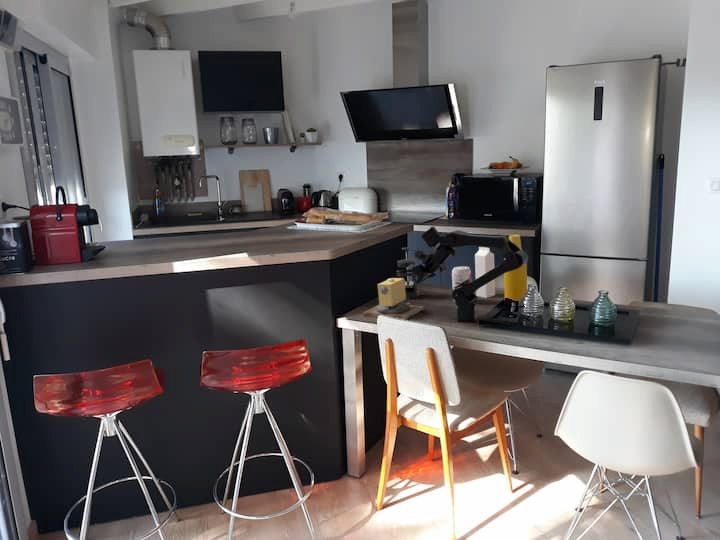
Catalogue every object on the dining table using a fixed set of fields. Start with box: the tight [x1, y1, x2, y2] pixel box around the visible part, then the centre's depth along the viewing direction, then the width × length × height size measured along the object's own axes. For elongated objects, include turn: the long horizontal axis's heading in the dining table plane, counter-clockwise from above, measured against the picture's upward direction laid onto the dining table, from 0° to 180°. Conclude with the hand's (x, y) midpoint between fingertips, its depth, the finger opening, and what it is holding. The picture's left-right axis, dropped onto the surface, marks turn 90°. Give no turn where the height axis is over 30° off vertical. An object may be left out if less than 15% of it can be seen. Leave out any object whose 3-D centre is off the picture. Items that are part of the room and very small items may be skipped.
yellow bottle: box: [503, 234, 528, 301], centre depth 235 cm, size 9×9×29 cm
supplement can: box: [451, 265, 472, 302], centre depth 247 cm, size 8×8×15 cm
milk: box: [474, 246, 496, 299], centre depth 253 cm, size 6×6×22 cm
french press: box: [395, 247, 420, 300], centre depth 262 cm, size 12×9×23 cm
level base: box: [362, 301, 425, 320], centre depth 239 cm, size 20×16×4 cm
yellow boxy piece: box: [377, 277, 407, 306], centre depth 237 cm, size 6×13×10 cm, turn 147°
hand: (417, 283), depth 230 cm, fingers closed
